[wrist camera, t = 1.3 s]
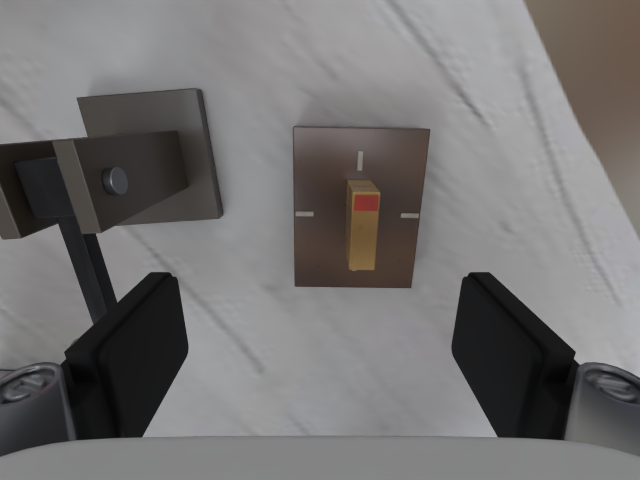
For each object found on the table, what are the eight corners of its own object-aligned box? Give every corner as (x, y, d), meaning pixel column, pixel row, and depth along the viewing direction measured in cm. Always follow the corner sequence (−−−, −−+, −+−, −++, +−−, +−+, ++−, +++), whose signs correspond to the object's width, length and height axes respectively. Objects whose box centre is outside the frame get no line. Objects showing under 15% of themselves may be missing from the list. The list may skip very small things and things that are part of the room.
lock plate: (404, 275, 31) (411, 289, 29) (296, 274, 31) (294, 287, 29) (420, 128, 27) (431, 129, 24) (295, 125, 27) (292, 126, 24)
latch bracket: (223, 214, 29) (155, 282, 17) (121, 221, 30) (-15, 293, 18) (201, 89, 26) (98, 64, 14) (86, 98, 26) (-113, 81, 14)
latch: (167, 339, 22) (149, 365, 20) (91, 344, 22) (66, 370, 20) (116, 151, 18) (87, 156, 16) (24, 158, 18) (-18, 163, 16)
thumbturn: (366, 247, 28) (375, 271, 23) (344, 246, 28) (348, 271, 23) (370, 179, 26) (381, 192, 21) (347, 179, 26) (352, 192, 21)
